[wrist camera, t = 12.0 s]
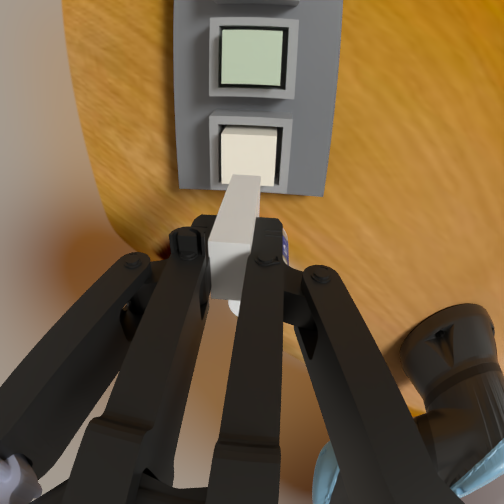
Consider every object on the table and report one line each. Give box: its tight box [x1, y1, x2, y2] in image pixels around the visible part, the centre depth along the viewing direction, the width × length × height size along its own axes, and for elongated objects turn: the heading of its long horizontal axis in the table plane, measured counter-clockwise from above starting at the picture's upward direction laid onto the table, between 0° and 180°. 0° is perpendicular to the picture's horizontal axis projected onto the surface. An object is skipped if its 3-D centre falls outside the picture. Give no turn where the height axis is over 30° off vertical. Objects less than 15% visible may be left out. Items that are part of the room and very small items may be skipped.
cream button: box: [221, 124, 277, 186], centre depth 22 cm, size 4×4×3 cm
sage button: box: [221, 30, 283, 86], centre depth 18 cm, size 4×4×3 cm
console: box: [173, 0, 343, 197], centre depth 19 cm, size 22×12×4 cm, turn 178°
